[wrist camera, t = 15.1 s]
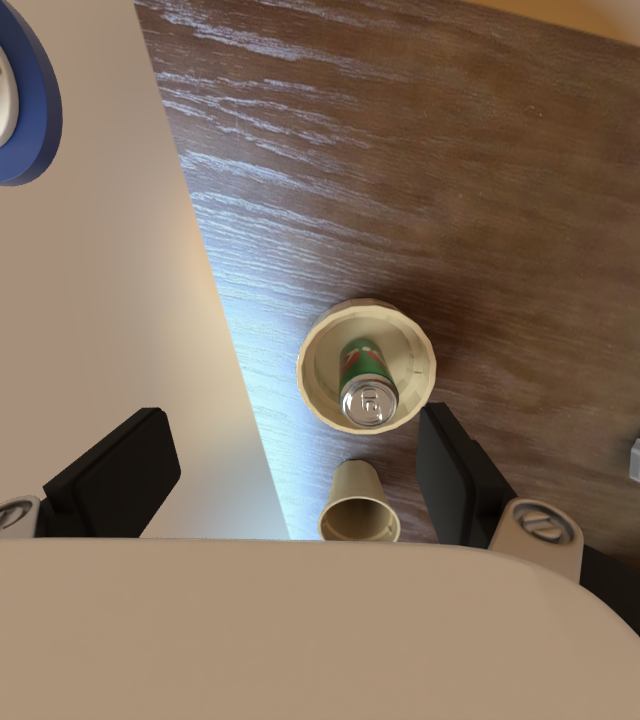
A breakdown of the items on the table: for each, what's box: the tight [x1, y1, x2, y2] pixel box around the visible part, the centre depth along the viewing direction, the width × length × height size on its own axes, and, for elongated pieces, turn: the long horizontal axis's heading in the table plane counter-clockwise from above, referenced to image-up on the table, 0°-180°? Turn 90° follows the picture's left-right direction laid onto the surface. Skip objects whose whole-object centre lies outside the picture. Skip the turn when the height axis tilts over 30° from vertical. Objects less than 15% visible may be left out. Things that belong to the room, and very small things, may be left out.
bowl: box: [296, 298, 436, 434], centre depth 33 cm, size 14×14×6 cm
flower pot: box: [318, 460, 401, 542], centre depth 38 cm, size 9×9×9 cm
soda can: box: [339, 339, 399, 429], centre depth 29 cm, size 5×5×12 cm
